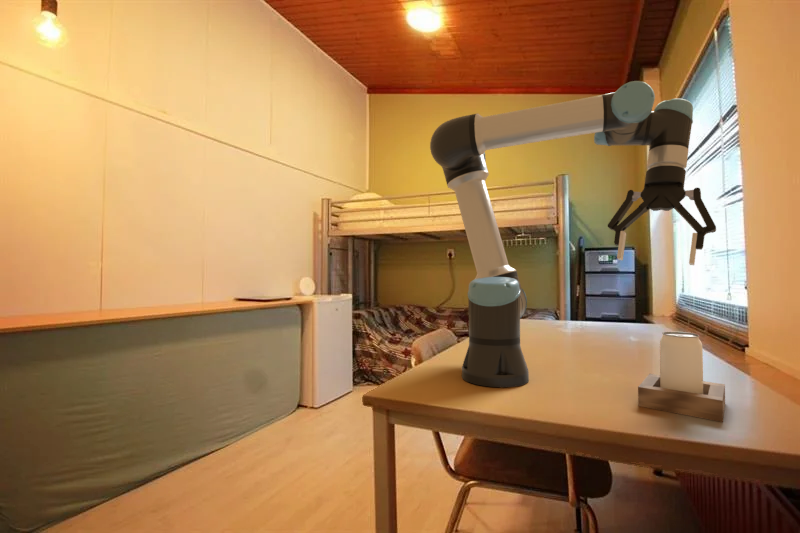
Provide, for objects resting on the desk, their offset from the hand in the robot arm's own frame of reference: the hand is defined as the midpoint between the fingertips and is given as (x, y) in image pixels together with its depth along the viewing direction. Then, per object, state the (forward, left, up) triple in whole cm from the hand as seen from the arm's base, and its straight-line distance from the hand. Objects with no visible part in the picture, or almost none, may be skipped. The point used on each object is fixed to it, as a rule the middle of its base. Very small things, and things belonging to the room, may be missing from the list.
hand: (653, 261), depth 87 cm
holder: (+6, -14, -27) cm, 31 cm away
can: (+6, -14, -26) cm, 30 cm away
